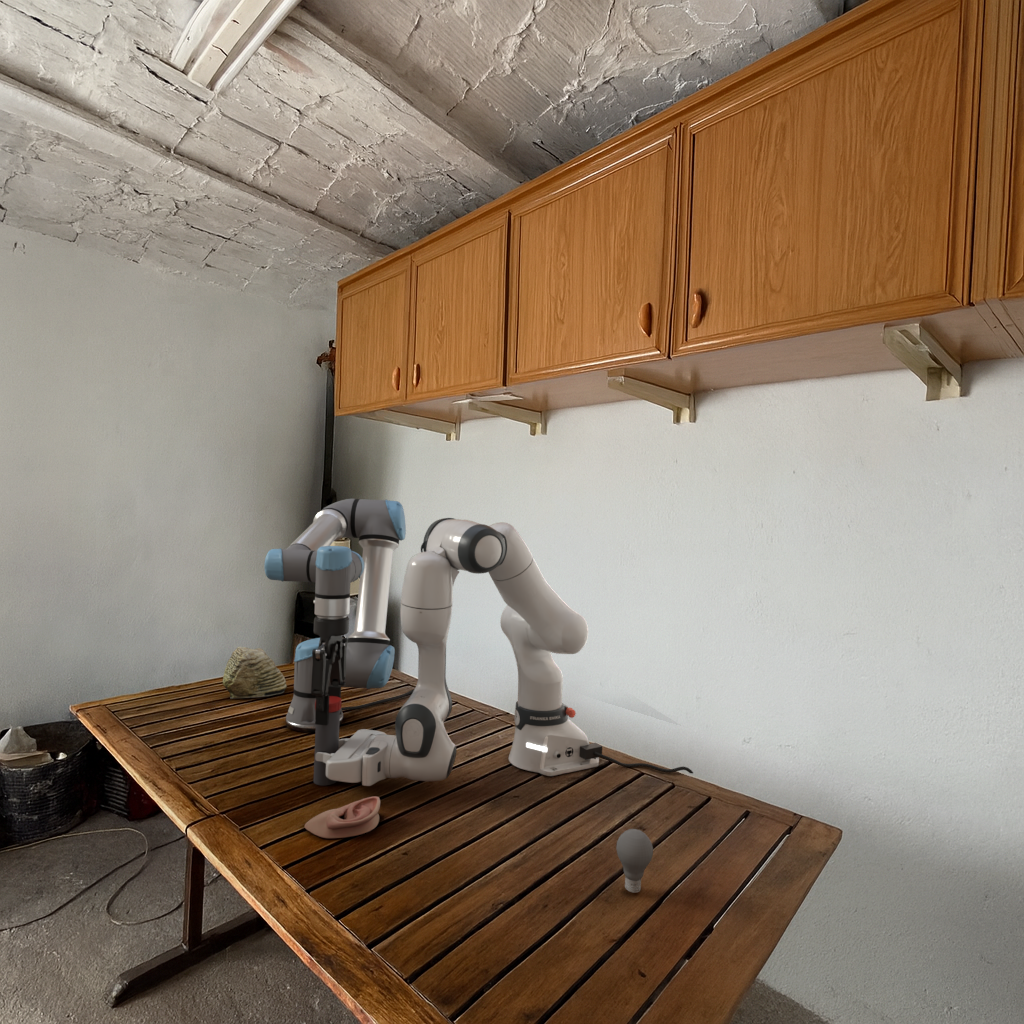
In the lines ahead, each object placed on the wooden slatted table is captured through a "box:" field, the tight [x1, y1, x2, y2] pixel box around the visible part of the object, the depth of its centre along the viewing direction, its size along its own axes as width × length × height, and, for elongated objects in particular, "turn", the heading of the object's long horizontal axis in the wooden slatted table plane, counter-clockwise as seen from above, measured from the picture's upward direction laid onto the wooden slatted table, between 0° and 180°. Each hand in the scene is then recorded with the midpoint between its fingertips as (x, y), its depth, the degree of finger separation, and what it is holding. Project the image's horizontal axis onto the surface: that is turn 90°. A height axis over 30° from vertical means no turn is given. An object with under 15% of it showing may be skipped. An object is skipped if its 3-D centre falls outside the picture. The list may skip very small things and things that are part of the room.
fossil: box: [222, 646, 288, 699], centre depth 198 cm, size 9×18×15 cm, turn 132°
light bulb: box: [615, 828, 654, 894], centre depth 106 cm, size 6×6×10 cm
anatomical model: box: [304, 796, 381, 839], centre depth 123 cm, size 13×4×12 cm
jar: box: [312, 710, 341, 787], centre depth 141 cm, size 5×5×18 cm
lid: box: [315, 696, 343, 713], centre depth 141 cm, size 6×6×2 cm
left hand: (327, 719), depth 141 cm, fingers closed on lid, 5 cm apart
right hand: (322, 749), depth 141 cm, fingers closed on jar, 5 cm apart
